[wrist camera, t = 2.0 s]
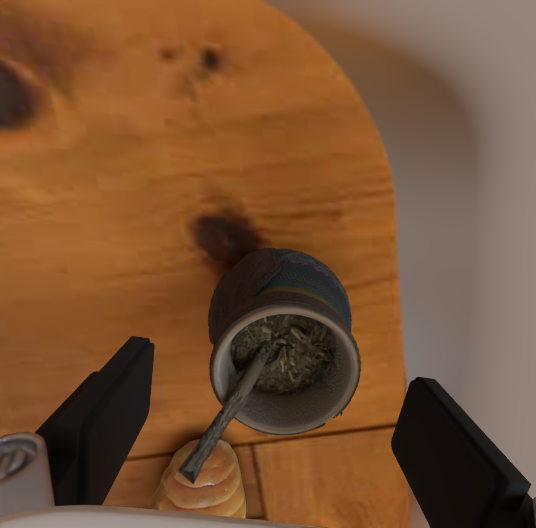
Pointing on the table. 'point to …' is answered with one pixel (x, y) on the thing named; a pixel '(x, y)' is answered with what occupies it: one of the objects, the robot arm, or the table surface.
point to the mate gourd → (278, 348)
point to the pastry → (203, 485)
